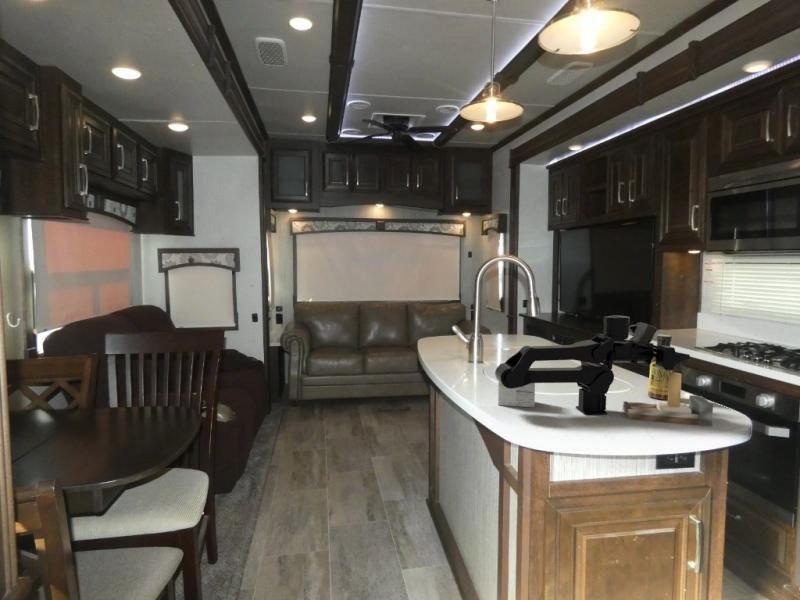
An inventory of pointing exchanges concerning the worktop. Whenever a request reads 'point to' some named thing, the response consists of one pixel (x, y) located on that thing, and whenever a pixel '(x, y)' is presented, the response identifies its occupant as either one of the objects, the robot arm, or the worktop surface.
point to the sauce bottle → (659, 373)
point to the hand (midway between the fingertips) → (678, 353)
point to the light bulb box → (517, 395)
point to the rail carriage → (674, 396)
